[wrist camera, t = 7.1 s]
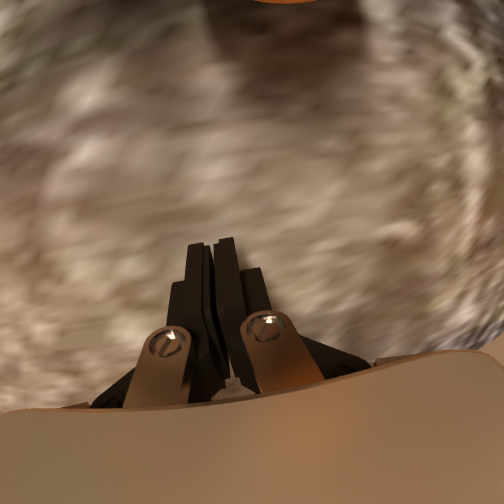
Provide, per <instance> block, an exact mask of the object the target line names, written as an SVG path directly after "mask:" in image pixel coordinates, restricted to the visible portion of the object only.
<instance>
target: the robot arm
mask: <svg viewBox="0 0 504 504" xmlns="http://www.w3.org/2000/svg"><path fill="white" fill-rule="evenodd" d="M228 354H229V356H228ZM229 358H230V361H231V365H232V368H233V372H234V375H235V378H236V377H239V378H240V381H241V385H243V386H244V387H246V388H248V389H250V390H252V391H253V392H254V393H255V395H250V396H244V397H237V398H231V399H224V400H216V401H215V397H214V395H215V394H216V393H217V392H218V391H219V390H220V389H225V388H226V385H225V379H229V378H230V377H231V376H230V366H229ZM0 504H504V366H503V365H502V364H500V363H499V362H498V361H497V360H496V359H495V358H493V357H491V356H490V355H489V354H486V353H484V352H481V351H476V350H468V349H454V350H442V351H434V352H427V353H419V354H412V355H404V356H396V357H387V358H377V359H375V362H372V363H367V362H366V361H365V360H363V359H361V358H359V357H357V356H354V355H351V354H348V353H346V352H343V351H340V350H338V349H335V348H332V347H330V346H327V345H324V344H322V343H319V342H316V341H314V340H311V339H309V338H306V337H304V336H301V335H299V334H298V332H297V330H296V329H295V327H294V325H293V323H292V322H291V320H290V319H289V318H288V316H287V315H285V314H283V313H282V312H279V311H275V310H272V308H271V304H270V301H269V297H268V293H267V290H266V286H265V283H264V279H263V275H262V272H261V268H260V267H258V268H252V269H247V270H241V271H239V266H238V260H237V255H236V249H235V244H234V239H233V237H229V238H224V239H219V243H218V244H214V263H213V258H212V254H211V250H210V246H209V245H207V246H204V244H203V242H202V243H196V244H191V245H188V250H187V259H186V269H185V279H184V281H178V282H173V283H172V287H171V293H170V300H169V308H168V315H167V323H166V327H163V328H160V329H158V330H156V331H154V332H153V333H152V334H151V335H150V336H149V337H148V338H147V339H146V341H145V343H144V345H143V348H142V351H141V354H140V357H139V359H138V362H137V365H136V367H135V368H133V369H132V370H131V371H130V372H128V373H127V374H126V375H125V376H123V377H122V378H121V379H120V380H118V381H117V382H116V383H115V384H113V385H112V386H111V387H110V388H108V389H107V390H106V391H105V392H103V393H102V394H101V395H100V396H98V397H97V398H96V399H95V400H94V402H93V403H92V405H90V404H89V403H88V402H85V403H81V404H76V405H72V406H67V407H62V408H32V409H20V410H14V411H9V412H6V413H3V414H0Z"/></svg>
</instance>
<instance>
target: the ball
mask: <svg viewBox="0 0 504 504" xmlns="http://www.w3.org/2000/svg"><path fill="white" fill-rule="evenodd" d="M255 1H261V2H267V3H282V4H289V3H304V2H310V1H315V0H255Z"/></svg>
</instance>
